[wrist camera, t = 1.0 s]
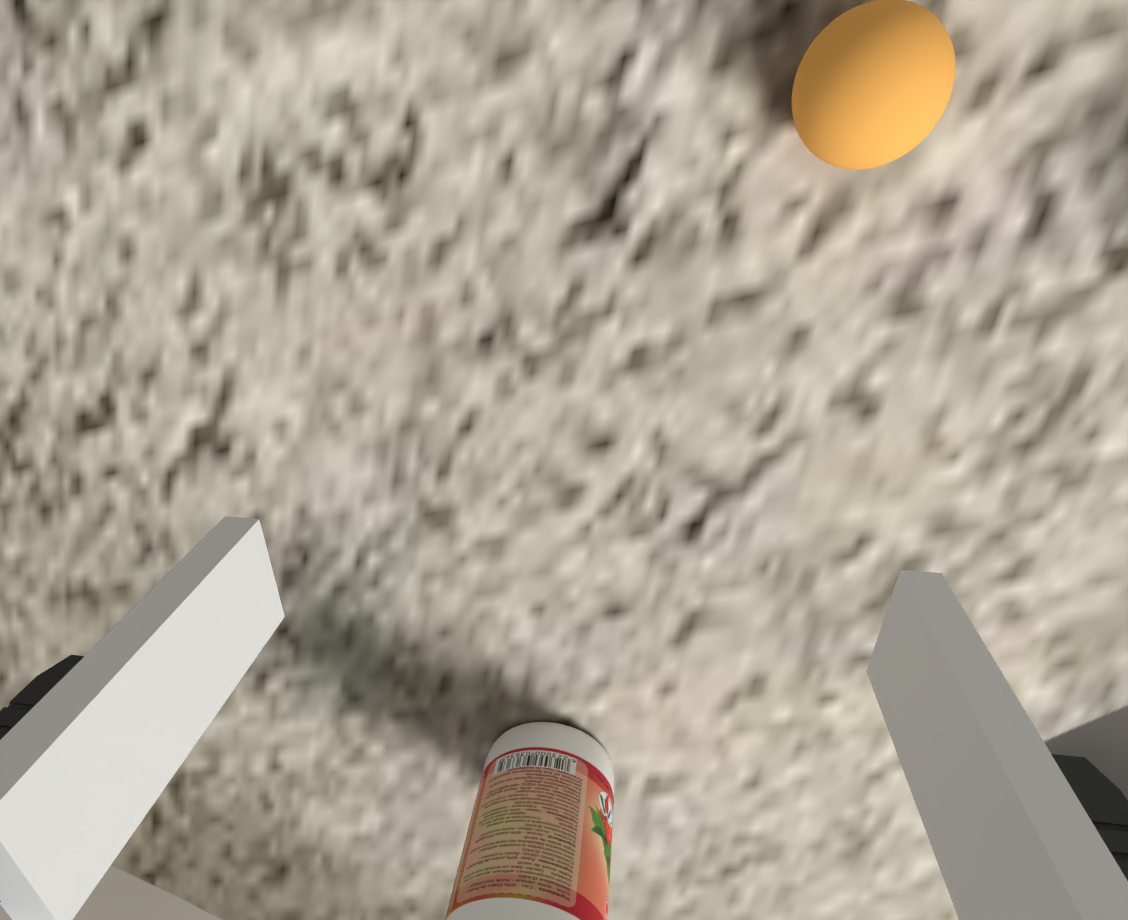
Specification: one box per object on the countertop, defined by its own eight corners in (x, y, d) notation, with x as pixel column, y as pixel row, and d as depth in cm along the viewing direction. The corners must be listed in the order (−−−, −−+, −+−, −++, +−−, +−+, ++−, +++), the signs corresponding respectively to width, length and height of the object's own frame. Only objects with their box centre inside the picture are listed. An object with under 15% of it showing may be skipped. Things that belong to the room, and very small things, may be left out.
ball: (793, 10, 26) (825, -15, 21) (939, 11, 25) (1007, -15, 20) (770, 163, 28) (795, 172, 24) (902, 166, 28) (955, 176, 23)
